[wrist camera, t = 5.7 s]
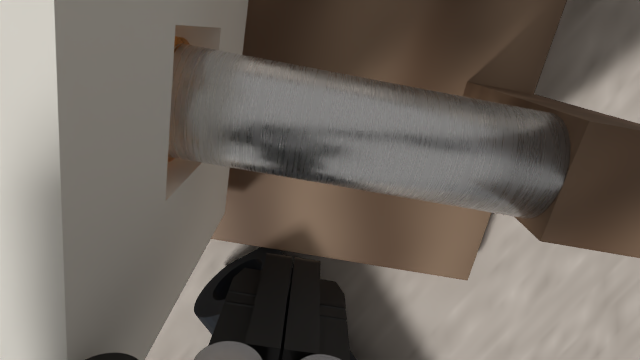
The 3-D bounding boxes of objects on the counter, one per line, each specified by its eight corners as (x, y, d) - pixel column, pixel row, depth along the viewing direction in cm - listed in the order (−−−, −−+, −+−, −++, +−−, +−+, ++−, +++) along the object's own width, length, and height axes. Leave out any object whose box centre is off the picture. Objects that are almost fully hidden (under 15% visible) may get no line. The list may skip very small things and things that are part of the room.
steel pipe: (618, 116, 13) (716, 143, 9) (577, 212, 14) (652, 264, 11) (-122, -25, 11) (-289, -46, 8) (-103, 93, 12) (-243, 113, 9)
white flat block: (258, -88, 15) (34, -514, 3) (224, 213, 19) (71, 492, 7) (188, -103, 14) (-301, -602, 3) (169, 204, 18) (-74, 473, 7)
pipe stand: (570, -64, 17) (881, -188, 8) (458, 264, 22) (557, 433, 13) (30, -180, 16) (-408, -501, 6) (48, 197, 21) (-174, 329, 12)
